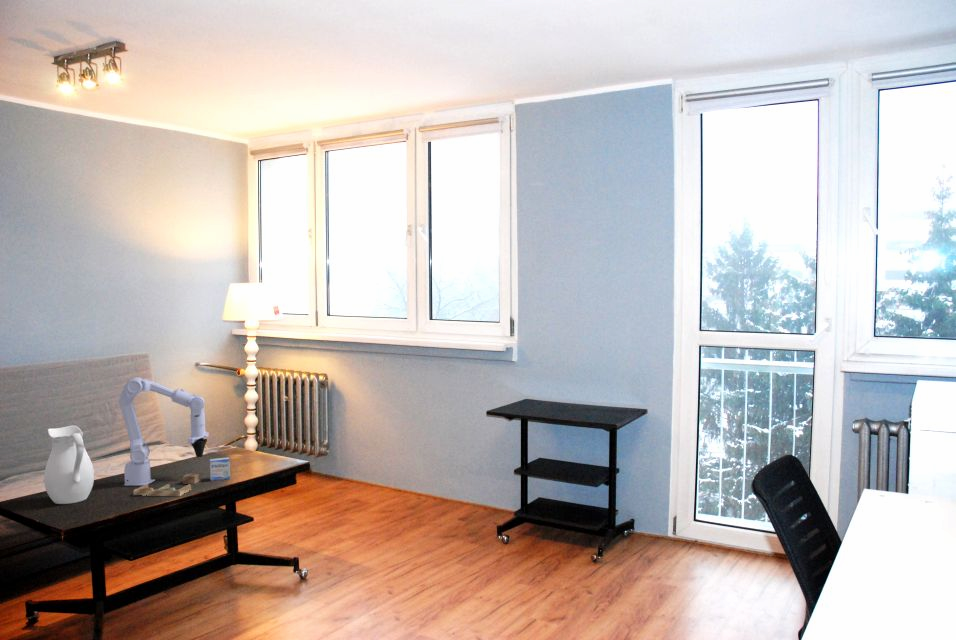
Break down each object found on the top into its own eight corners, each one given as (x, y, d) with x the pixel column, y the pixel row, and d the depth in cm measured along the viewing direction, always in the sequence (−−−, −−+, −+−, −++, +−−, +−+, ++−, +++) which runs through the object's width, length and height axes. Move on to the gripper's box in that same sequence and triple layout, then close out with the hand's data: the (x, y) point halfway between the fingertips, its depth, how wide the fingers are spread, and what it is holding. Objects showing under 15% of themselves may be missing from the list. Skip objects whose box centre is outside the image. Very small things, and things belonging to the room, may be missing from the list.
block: (183, 484, 310) (182, 476, 310) (189, 481, 315) (188, 473, 315) (194, 484, 309) (194, 476, 309) (200, 481, 314) (200, 473, 314)
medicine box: (210, 481, 314) (209, 460, 313) (210, 479, 318) (209, 458, 317) (230, 479, 316) (229, 458, 316) (229, 476, 321) (228, 456, 320)
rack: (133, 495, 294) (133, 488, 294) (146, 489, 303) (145, 482, 303) (180, 496, 292) (179, 488, 292) (191, 489, 301) (190, 482, 301)
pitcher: (40, 500, 291) (37, 429, 290) (88, 491, 302) (84, 422, 301) (56, 513, 273) (51, 437, 272) (106, 503, 284) (102, 430, 283)
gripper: (199, 428, 311) (200, 460, 312) (214, 421, 325) (216, 452, 326) (182, 428, 312) (184, 460, 312) (199, 421, 326) (200, 452, 327)
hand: (199, 456), depth 319 cm, fingers closed
